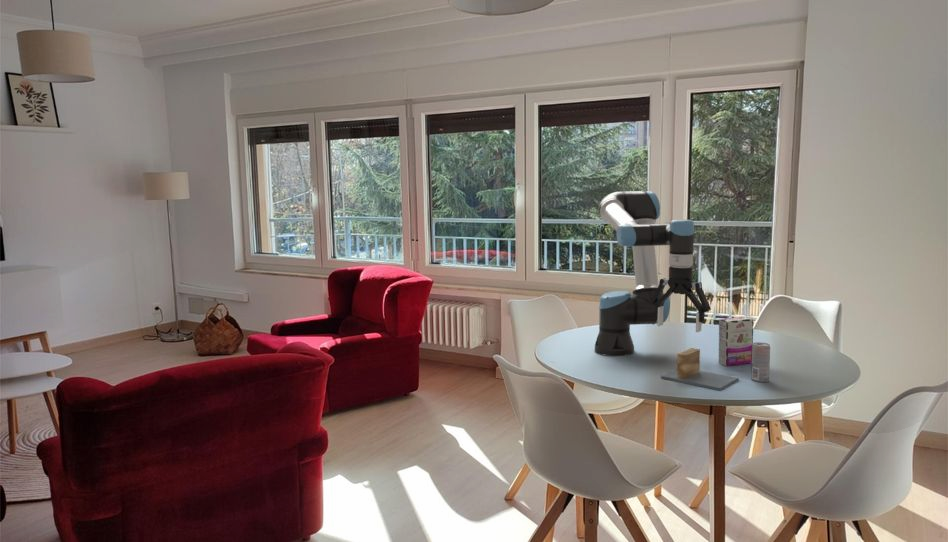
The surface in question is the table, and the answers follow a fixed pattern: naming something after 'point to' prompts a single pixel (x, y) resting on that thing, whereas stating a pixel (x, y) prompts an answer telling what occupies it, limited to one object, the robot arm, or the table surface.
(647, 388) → the table surface
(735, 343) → the candy bar box
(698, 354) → the slab
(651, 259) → the robot arm
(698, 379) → the mat
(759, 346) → the energy drink
